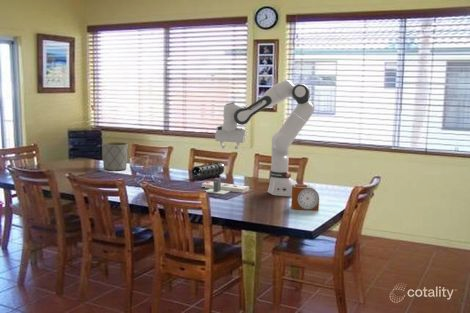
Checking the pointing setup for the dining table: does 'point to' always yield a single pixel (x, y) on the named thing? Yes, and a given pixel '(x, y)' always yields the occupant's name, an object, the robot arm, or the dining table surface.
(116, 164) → the planter
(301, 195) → the alarm clock
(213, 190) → the mat
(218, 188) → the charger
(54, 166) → the dining table surface
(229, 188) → the socket bar
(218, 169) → the muzzle brake
